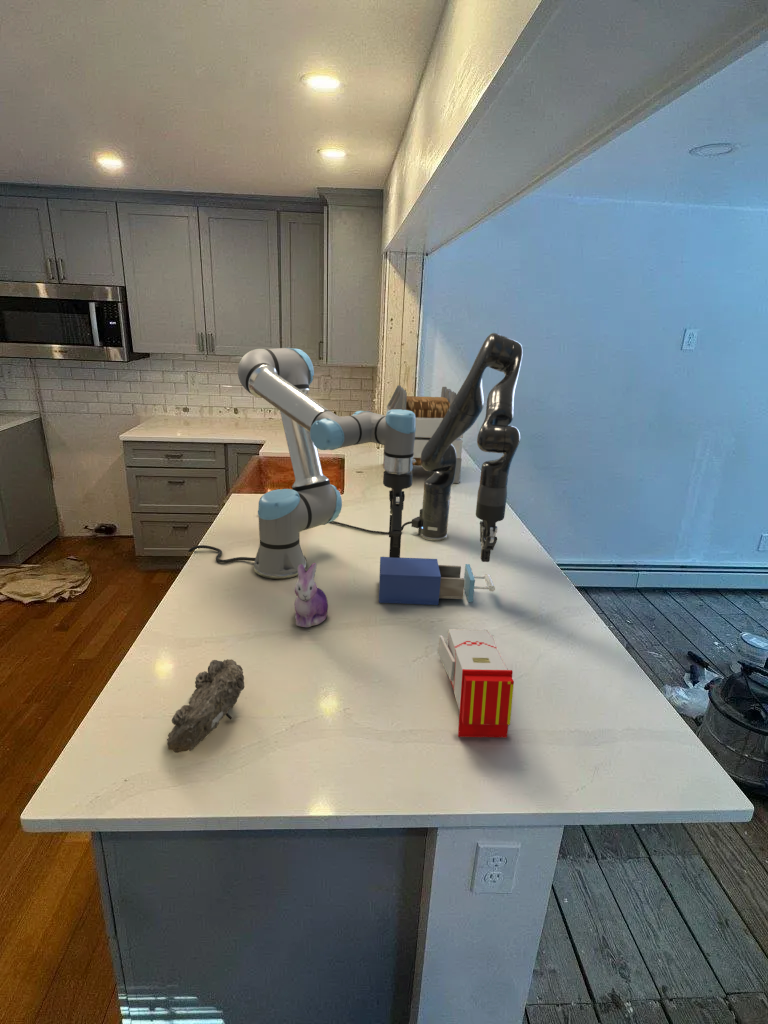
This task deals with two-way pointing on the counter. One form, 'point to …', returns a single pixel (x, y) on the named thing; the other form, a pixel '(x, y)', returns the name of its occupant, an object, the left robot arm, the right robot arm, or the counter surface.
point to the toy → (478, 682)
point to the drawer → (460, 582)
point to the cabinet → (409, 581)
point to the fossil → (206, 705)
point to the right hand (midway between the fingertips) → (484, 560)
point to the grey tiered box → (427, 420)
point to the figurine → (309, 599)
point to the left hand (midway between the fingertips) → (394, 546)
